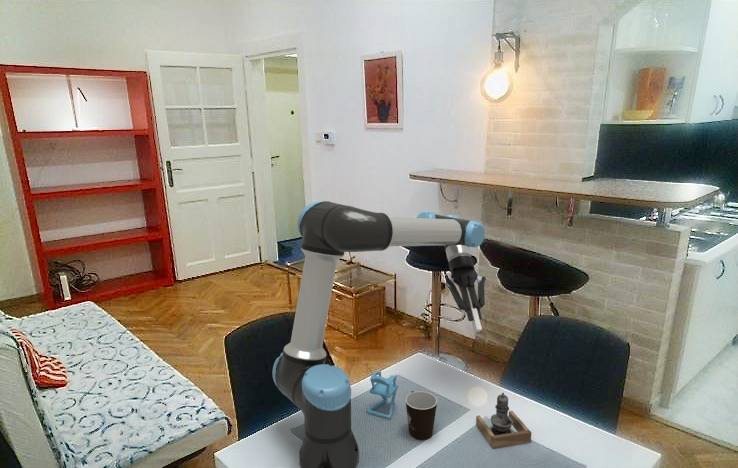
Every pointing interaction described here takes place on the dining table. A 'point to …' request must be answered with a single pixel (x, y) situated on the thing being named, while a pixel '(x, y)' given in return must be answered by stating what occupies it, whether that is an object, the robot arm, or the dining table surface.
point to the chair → (383, 392)
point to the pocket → (505, 439)
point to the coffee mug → (421, 414)
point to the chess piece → (501, 417)
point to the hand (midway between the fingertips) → (478, 330)
